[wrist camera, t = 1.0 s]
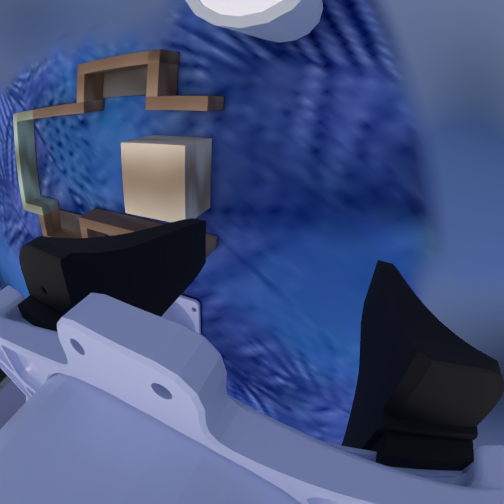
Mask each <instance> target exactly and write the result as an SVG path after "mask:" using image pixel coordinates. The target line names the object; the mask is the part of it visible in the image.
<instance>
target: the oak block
mask: <svg viewBox="0 0 504 504" xmlns="http://www.w3.org/2000/svg"><path fill="white" fill-rule="evenodd" d="M211 155H212V138H201V137H185V136H164V135H150V136H146V137H142V138H137V139H133V140H129V141H125V142H121V156H122V175H123V190H124V202H125V213H128V214H133V215H138V216H143V217H148V218H152V219H157V220H162V221H167V222H175V221H179V220H184V219H190V218H196V217H198V216H199V215H201V214H202V213H203V212H205V211H206V210H208V209H209V208H210V193H211Z"/></svg>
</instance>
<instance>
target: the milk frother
mask: <svg viewBox="0 0 504 504" xmlns="http://www.w3.org/2000/svg"><path fill="white" fill-rule="evenodd" d="M10 381H11V379H10V378H9V377H8V376H7V375H6V374H5V373H4V371H3V370H2V369H1V368H0V390H2V389H3V388H4V387H5V386H6V385H7V384H8V383H9V382H10Z"/></svg>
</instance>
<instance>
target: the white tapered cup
mask: <svg viewBox="0 0 504 504" xmlns="http://www.w3.org/2000/svg"><path fill="white" fill-rule="evenodd" d="M185 1H186V2H187V3H188V5H189V6H190V8H191V9H192V11H193V12H194V14H195V15H197V16H199V17H201V18H202V19H204V20H206V21H208V22H210V23H211V24H213V25H215V26H219V27H223V28H227V29H231V30H234V31H238V32H241V33H244V34H248V35H251V36H254V37H257V38H260V39H263V40H268V41H273V42H278V43H280V42H287V41H295V40H297V39H299V38H301V37H303V36H305V35H307V34H309V33H310V32H311V31H312V30H313V29H314V27H315V26H316V25H317V24H318V23H319V21H320V18H321V14H322V11H323V3H322V0H185Z"/></svg>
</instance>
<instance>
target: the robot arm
mask: <svg viewBox="0 0 504 504" xmlns="http://www.w3.org/2000/svg"><path fill="white" fill-rule="evenodd" d="M19 258H20V265H21V269H22V273H23V276H24V279H25V282H26V285H27V288H28V291H29V294H30V296H29V297H27V298H26V299H25V298H24V297H23V295H22V294H21V293H19V292H18V291H16V290H15V289H14V288H12V287H11V286H7V287H5V288H4V289H3V290H1V291H0V368H1V369H2V370H3V371H4V373H5V374H6V375H7V376H8V377H9V378H10V379H11V380H12V381H13V382H14V383H15V384H16V385H17V386H18V387H19V388H20V390H22V392H23V393H24V394H25V395H26V403H25V404H24V405H23V406H22V407H21V408H20V409H19V410H18V411H17V412H16V413H15V414H14V416H13V417H12V418H11V419H10V420H9V421H8V422H7V423H6V424H5V425H4V426H3V427H2V428H1V430H0V504H504V445H492V446H491V445H490V446H486V445H485V446H480V447H477V448H475V449H473V440H474V439H475V438H477V435H478V432H477V425H478V424H479V423H480V422H481V421H482V420H483V419H484V418H485V417H486V416H487V414H488V413H489V412H490V411H491V410H492V409H493V408H494V407H495V405H496V404H497V403H498V401H499V400H500V398H501V396H502V393H503V391H504V382H503V378H502V374H501V371H500V367H499V364H498V361H497V360H495V359H493V358H491V357H490V356H488V355H486V354H484V353H482V352H481V351H479V350H477V349H475V348H474V347H472V346H471V345H469V344H468V343H466V342H465V341H464V340H462V339H461V338H459V337H458V336H457V335H455V334H454V333H453V332H452V331H451V330H449V329H448V328H447V327H446V326H445V325H444V324H442V323H441V322H440V321H439V320H438V319H437V318H436V317H435V316H434V315H433V314H432V313H431V312H430V311H429V310H428V309H427V308H426V306H425V305H424V304H423V303H422V302H421V301H420V299H419V298H418V297H417V296H416V294H415V293H414V292H413V291H412V289H411V288H410V287H409V285H408V284H407V283H406V281H405V280H404V278H403V277H402V276H401V274H400V273H399V271H398V270H397V269H396V267H395V266H394V265H393V264H391V263H387V262H383V261H379V260H378V262H377V265H376V268H375V271H374V275H373V278H372V281H371V284H370V287H369V290H368V293H367V296H366V299H365V302H364V307H363V314H362V320H361V341H360V364H359V375H358V381H357V386H356V391H355V396H354V401H353V405H352V410H351V414H350V418H349V422H348V425H347V429H346V433H345V436H344V440H343V443H342V446H341V445H336V444H332V443H327V442H323V441H320V440H318V439H316V438H313V437H311V436H309V435H307V434H304V433H302V432H300V431H298V430H296V429H294V428H291V427H289V426H287V425H285V424H283V423H281V422H279V421H277V420H275V419H273V418H271V417H269V416H267V415H265V414H263V413H261V412H259V411H257V410H255V409H254V408H252V407H250V406H248V405H246V404H244V403H242V402H241V401H239V400H237V399H235V398H233V397H232V396H230V395H228V394H227V390H226V375H227V372H226V369H225V366H224V363H223V360H222V357H221V355H220V353H219V352H218V351H217V350H216V349H215V348H214V346H213V345H212V344H211V343H210V342H209V341H208V340H207V339H206V338H205V337H204V336H202V335H201V320H200V303H199V302H198V301H197V300H195V299H192V298H189V297H186V296H183V295H181V294H182V293H183V292H184V291H185V290H186V289H187V287H188V286H189V285H190V284H191V283H192V282H193V281H194V279H195V278H196V277H197V275H198V274H199V272H200V271H201V269H202V267H203V266H204V264H205V263H206V221H204V220H200V219H195V218H190V219H184V220H179V221H175V222H171V223H167V224H163V225H160V226H156V227H152V228H148V229H144V230H140V231H135V232H131V233H126V234H120V235H113V236H105V237H93V238H56V237H44V236H40V237H37V238H35V239H33V240H32V241H30V242H28V243H27V244H25V245H23V246H22V248H21V249H20V256H19ZM194 308H195V309H194Z"/></svg>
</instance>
